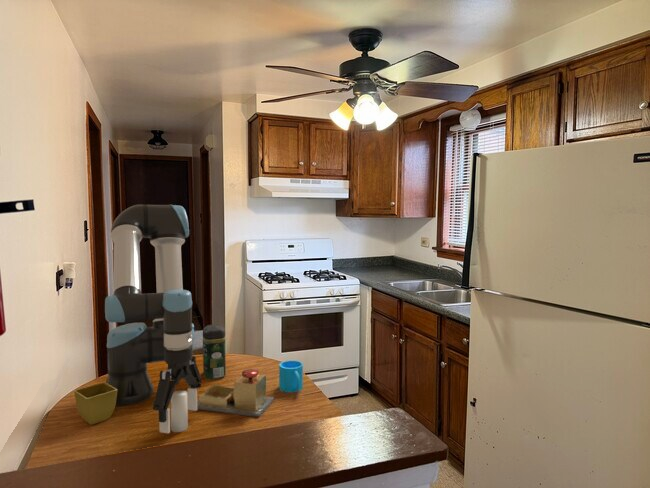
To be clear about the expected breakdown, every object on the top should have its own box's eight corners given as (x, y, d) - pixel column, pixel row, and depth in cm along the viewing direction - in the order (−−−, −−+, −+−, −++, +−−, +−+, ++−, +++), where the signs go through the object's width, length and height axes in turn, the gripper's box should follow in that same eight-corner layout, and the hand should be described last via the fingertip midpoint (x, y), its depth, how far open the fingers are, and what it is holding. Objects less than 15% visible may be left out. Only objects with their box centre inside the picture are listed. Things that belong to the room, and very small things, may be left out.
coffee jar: (201, 372, 165) (201, 324, 164) (222, 369, 168) (222, 322, 167) (205, 381, 156) (204, 330, 155) (227, 378, 160) (227, 328, 158)
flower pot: (105, 409, 134) (104, 381, 133) (119, 418, 128) (118, 388, 128) (74, 420, 127) (73, 390, 126) (87, 430, 122) (86, 398, 121)
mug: (276, 385, 154) (276, 362, 154) (297, 381, 158) (297, 359, 157) (287, 398, 143) (287, 374, 143) (310, 394, 147) (310, 370, 146)
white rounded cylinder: (168, 430, 122) (167, 396, 121) (177, 423, 126) (176, 389, 125) (182, 433, 121) (181, 397, 120) (190, 425, 125) (190, 391, 124)
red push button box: (193, 408, 136) (192, 373, 135) (212, 392, 147) (212, 360, 146) (259, 417, 130) (259, 381, 129) (274, 400, 142) (274, 367, 141)
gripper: (162, 362, 108) (164, 445, 110) (212, 335, 133) (213, 403, 134) (136, 359, 110) (138, 440, 112) (190, 333, 134) (191, 400, 136)
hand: (179, 420), depth 123 cm, fingers open, 13 cm apart
